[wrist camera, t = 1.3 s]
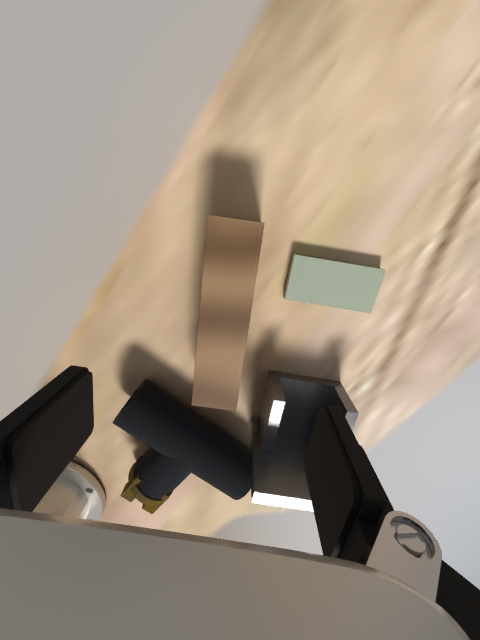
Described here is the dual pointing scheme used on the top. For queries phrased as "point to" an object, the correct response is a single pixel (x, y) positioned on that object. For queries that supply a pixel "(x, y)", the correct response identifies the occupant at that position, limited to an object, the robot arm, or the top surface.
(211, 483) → the pipe connector
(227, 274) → the walnut rail
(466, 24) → the top surface
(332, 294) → the pad
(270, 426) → the grey metal bracket
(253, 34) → the top surface
